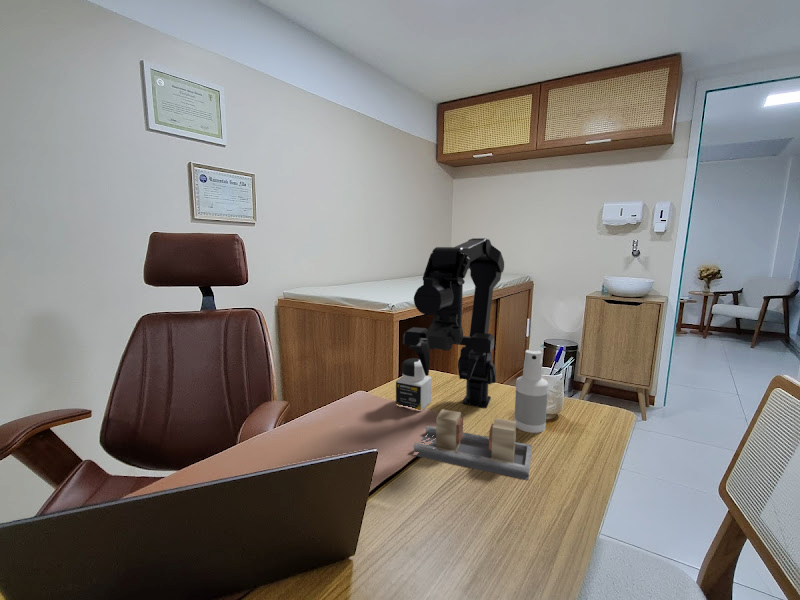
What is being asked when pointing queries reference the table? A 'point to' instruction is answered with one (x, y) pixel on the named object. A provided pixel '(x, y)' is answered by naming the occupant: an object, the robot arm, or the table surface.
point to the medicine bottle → (413, 385)
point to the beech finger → (449, 429)
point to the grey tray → (474, 458)
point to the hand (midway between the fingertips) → (447, 377)
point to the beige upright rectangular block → (502, 440)
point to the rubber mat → (479, 451)
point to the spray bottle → (531, 395)
